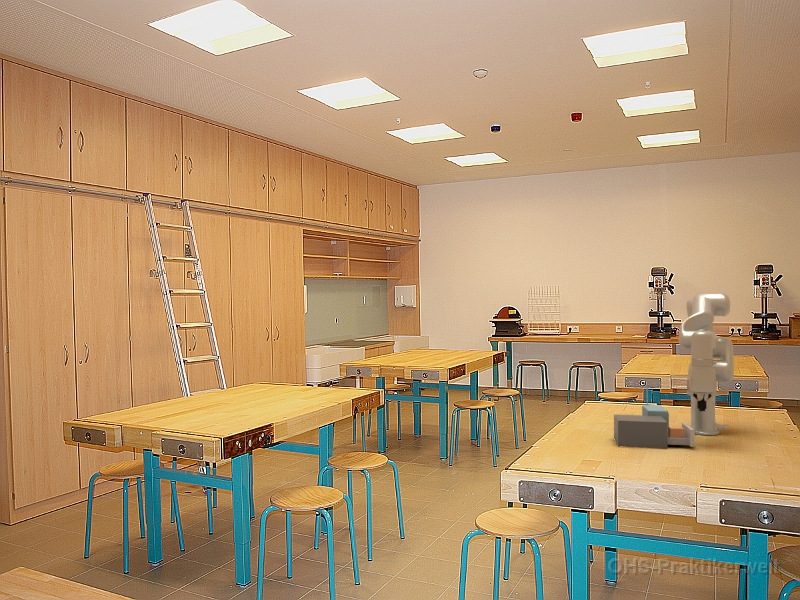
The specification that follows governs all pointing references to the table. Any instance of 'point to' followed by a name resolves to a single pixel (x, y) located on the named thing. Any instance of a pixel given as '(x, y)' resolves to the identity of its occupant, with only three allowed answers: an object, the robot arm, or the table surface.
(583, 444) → the table surface
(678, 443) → the light grey drawer
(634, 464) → the table surface
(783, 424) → the table surface
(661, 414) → the radio
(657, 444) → the housing
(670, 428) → the block
